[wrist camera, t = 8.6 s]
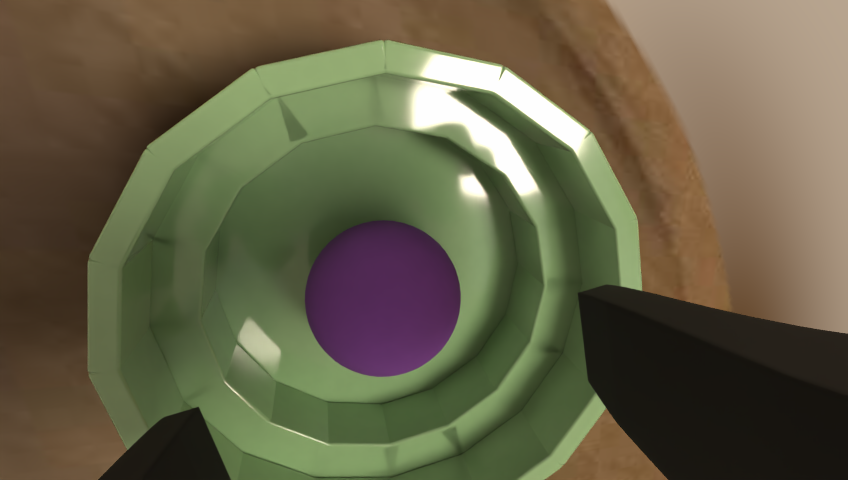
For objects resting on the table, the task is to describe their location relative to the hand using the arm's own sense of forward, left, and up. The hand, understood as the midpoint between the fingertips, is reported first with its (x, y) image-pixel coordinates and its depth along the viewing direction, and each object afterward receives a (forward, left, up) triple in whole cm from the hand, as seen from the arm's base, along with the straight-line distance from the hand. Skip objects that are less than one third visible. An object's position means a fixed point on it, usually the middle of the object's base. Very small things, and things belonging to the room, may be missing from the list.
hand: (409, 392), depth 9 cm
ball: (0, 0, -4) cm, 4 cm away
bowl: (0, 0, -7) cm, 6 cm away
